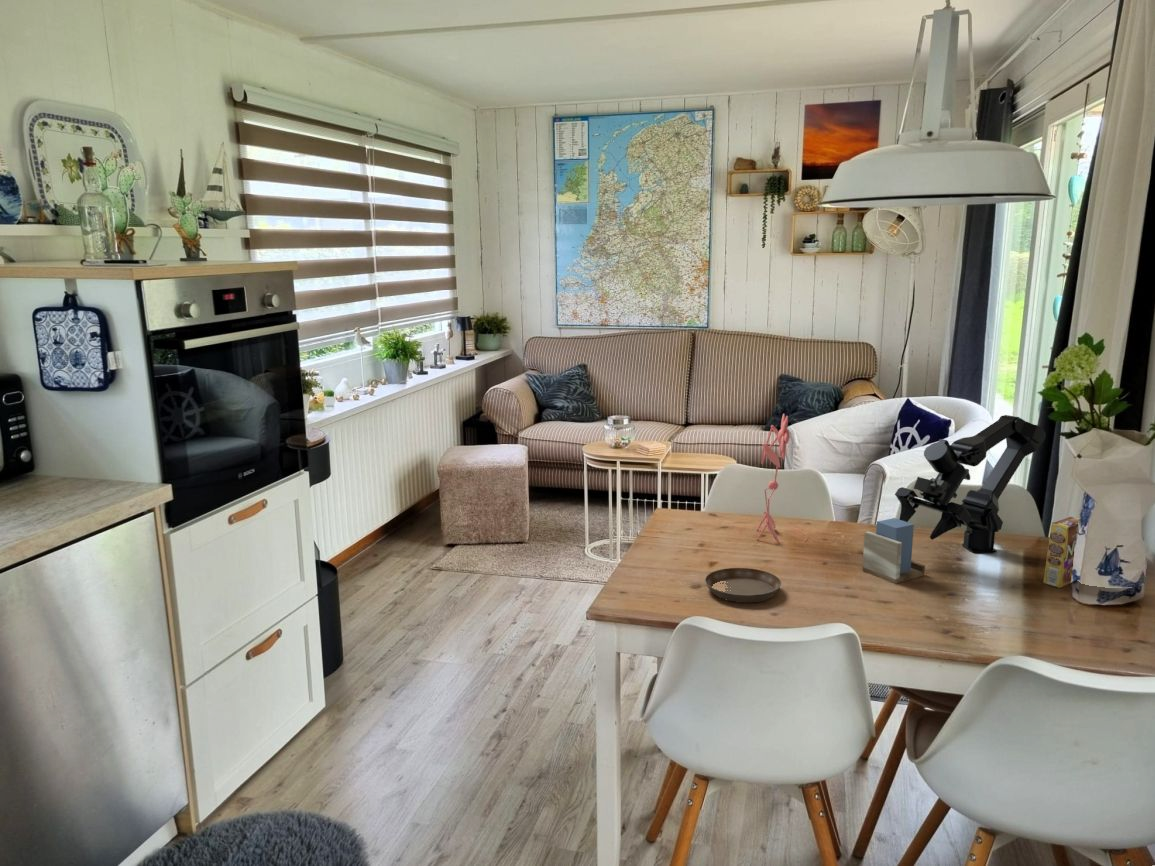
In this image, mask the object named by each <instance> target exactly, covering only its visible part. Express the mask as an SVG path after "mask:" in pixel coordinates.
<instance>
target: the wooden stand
mask: <svg viewBox="0 0 1155 866" xmlns="http://www.w3.org/2000/svg"><path fill="white" fill-rule="evenodd" d="M863 539H864V540H863V554H862V555H863V556H862V570H861V571H862V572H865V573H867V574H870V575H872V576H875V577H877V578H880V579H883V580H885V581H888V582H890V583H893V584H899V583H901V582H905V581H909V580H912V579H916V578H919V577H922V576H925V571H926V565H925V564H923V563H920V562H916V561H914V560H911V571H909V572H905V573H901V574H900V564H901V549H902V543H901V542H898V541H896V540H893V539H890V538H887V537H884V536H881V535H878V534H876V532H871V531H865V532H864V535H863Z"/></svg>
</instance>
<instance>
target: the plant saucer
mask: <svg viewBox="0 0 1155 866" xmlns="http://www.w3.org/2000/svg"><path fill="white" fill-rule="evenodd" d="M720 581H726V583H725V584H726V585H727V587H728V588H725V590H726V591H725V592H723V591H719V590H717V589H714V588H712V586H713V584H715V583H717V582H720ZM727 582H728V583H727ZM704 583H705V585H706V586H707V588H708V589H709V590H710V591H711V592H712V594H714V595H715V596H716V595H717V596H716V597H718V596H719V597H718V598H720V597H721V598H720V599H722V598H723V599H722V600H725V599H727V600H726V601H728V600H731V601H730V602H732V601H736V602H735V603H740V602H753V603H759V602H765V601H767V600H769V599H770V598H772V597H773V596H774V595H775V594H776V593H777V592H778V591H779V589H780V587H781V586H782V581H781V579H780V578H779V577H778V576H777V575H775V574H773V573H771V572H769V571H766V570H761V569H756V568H751V567H750V568H749V567H729V568H728V567H727V568H721V569H718V570H714V571H711V572H710V573H708V574H706V575H705V578H704ZM720 584H721V583H720ZM722 584H724V582H723V583H722ZM725 587H726V586H725ZM730 587H731V588H730ZM727 590H728V591H727ZM730 590H731V591H730Z"/></svg>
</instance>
